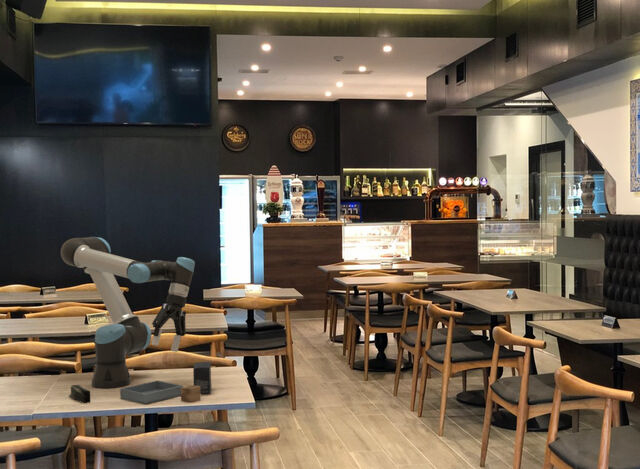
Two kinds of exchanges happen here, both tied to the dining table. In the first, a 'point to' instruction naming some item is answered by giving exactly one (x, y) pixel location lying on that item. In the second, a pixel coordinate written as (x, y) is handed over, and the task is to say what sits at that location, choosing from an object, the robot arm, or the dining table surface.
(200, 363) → the small box
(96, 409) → the dining table surface
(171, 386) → the tray
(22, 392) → the dining table surface
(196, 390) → the walnut cube
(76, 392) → the mobile phone
